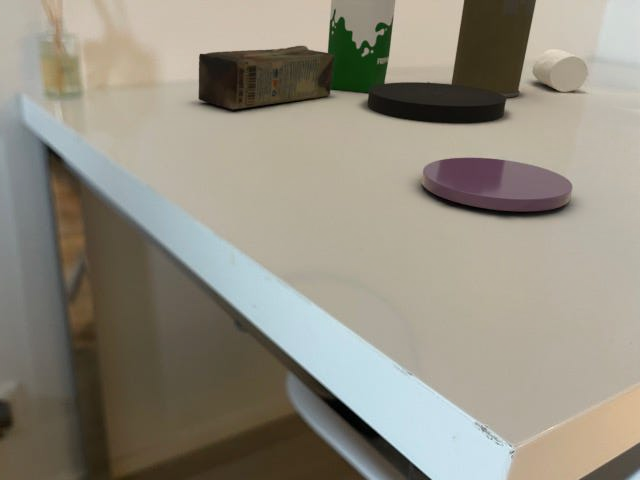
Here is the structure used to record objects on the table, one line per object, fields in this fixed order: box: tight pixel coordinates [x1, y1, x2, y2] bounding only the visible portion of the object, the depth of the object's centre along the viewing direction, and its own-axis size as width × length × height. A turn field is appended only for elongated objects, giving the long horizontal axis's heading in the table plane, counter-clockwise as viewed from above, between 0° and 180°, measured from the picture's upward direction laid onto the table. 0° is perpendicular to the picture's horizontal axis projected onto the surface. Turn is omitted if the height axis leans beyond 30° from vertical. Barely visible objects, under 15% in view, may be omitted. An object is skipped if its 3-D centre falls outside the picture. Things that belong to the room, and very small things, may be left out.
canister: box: [451, 0, 537, 99], centre depth 98 cm, size 11×10×20 cm
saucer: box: [421, 157, 573, 212], centre depth 56 cm, size 12×12×1 cm
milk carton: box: [327, 0, 396, 94], centre depth 98 cm, size 9×9×20 cm
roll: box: [532, 48, 589, 93], centre depth 108 cm, size 6×12×6 cm, turn 177°
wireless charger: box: [367, 81, 507, 124], centre depth 89 cm, size 18×18×2 cm
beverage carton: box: [198, 45, 334, 110], centre depth 90 cm, size 8×19×7 cm, turn 133°
